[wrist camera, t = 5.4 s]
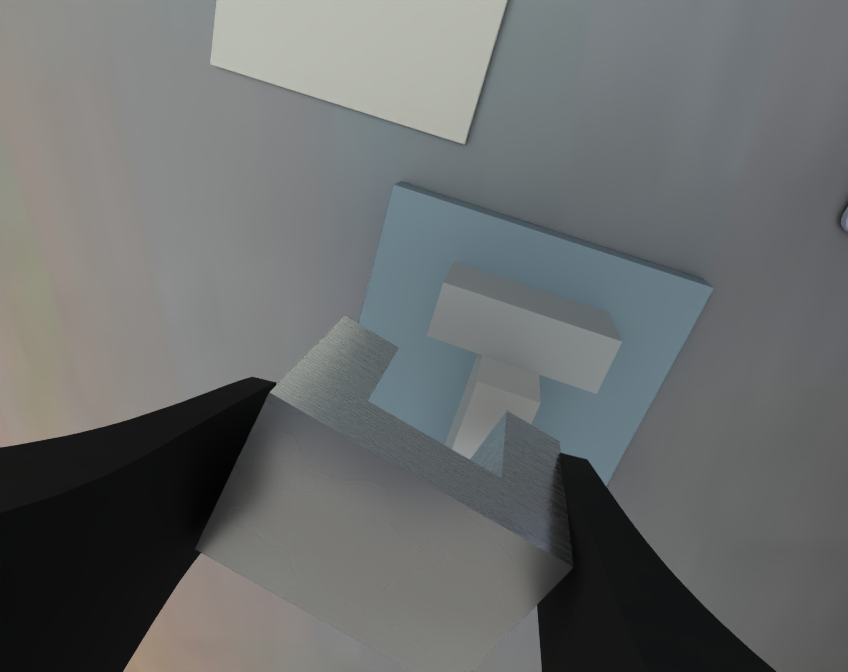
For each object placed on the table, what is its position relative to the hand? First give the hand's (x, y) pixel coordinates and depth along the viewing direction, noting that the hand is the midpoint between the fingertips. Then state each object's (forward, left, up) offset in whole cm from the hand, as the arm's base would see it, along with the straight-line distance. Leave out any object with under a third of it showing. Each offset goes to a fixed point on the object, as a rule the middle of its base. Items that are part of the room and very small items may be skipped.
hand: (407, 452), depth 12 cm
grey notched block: (0, 0, 0) cm, 0 cm away
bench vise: (-2, +4, -10) cm, 11 cm away
